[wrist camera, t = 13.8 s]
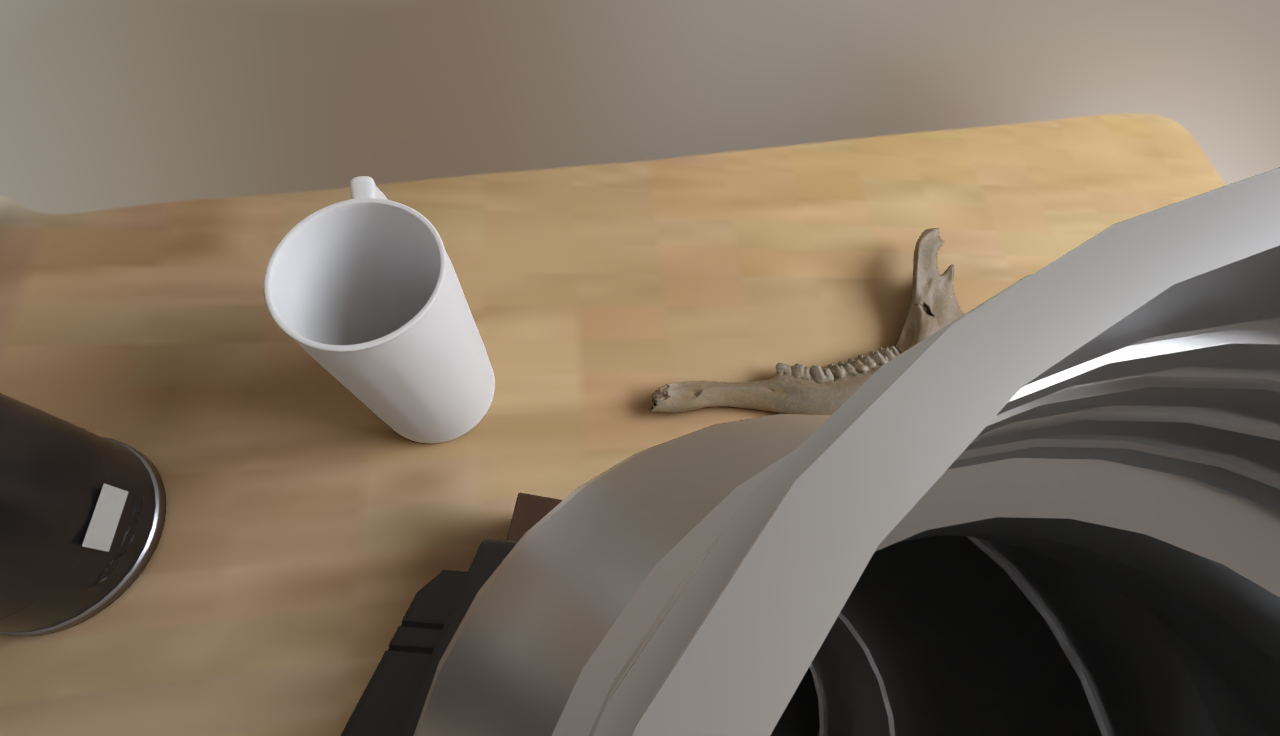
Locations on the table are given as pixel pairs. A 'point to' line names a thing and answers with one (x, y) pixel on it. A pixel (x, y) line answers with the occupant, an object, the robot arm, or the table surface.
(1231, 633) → the silver metal bottle
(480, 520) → the table surface
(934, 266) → the jawbone
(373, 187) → the mug
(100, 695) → the table surface
